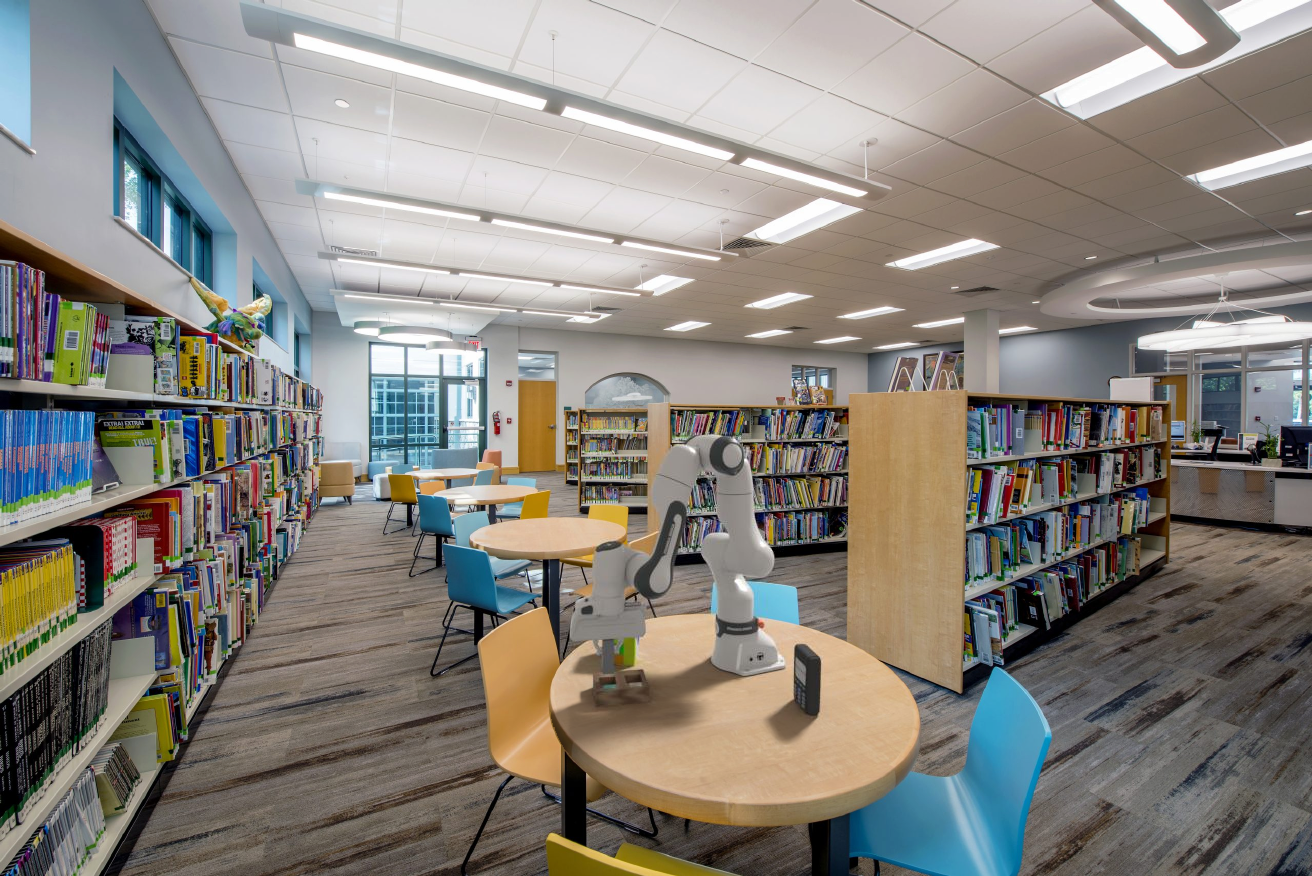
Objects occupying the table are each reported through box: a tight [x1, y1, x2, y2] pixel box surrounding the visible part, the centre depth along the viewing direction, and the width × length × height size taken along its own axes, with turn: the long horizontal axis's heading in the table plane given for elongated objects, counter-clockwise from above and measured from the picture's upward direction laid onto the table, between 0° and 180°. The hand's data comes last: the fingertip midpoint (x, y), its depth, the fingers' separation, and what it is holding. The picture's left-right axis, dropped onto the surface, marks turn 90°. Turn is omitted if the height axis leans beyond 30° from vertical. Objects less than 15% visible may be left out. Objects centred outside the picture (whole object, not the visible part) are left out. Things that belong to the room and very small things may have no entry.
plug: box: [600, 639, 615, 674], centre depth 142 cm, size 3×3×9 cm
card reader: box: [793, 643, 822, 716], centre depth 138 cm, size 9×4×15 cm, turn 10°
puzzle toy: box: [614, 637, 640, 667], centre depth 166 cm, size 10×10×10 cm
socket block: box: [592, 668, 651, 708], centre depth 144 cm, size 14×10×4 cm
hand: (607, 654), depth 142 cm, fingers closed on plug, 3 cm apart
